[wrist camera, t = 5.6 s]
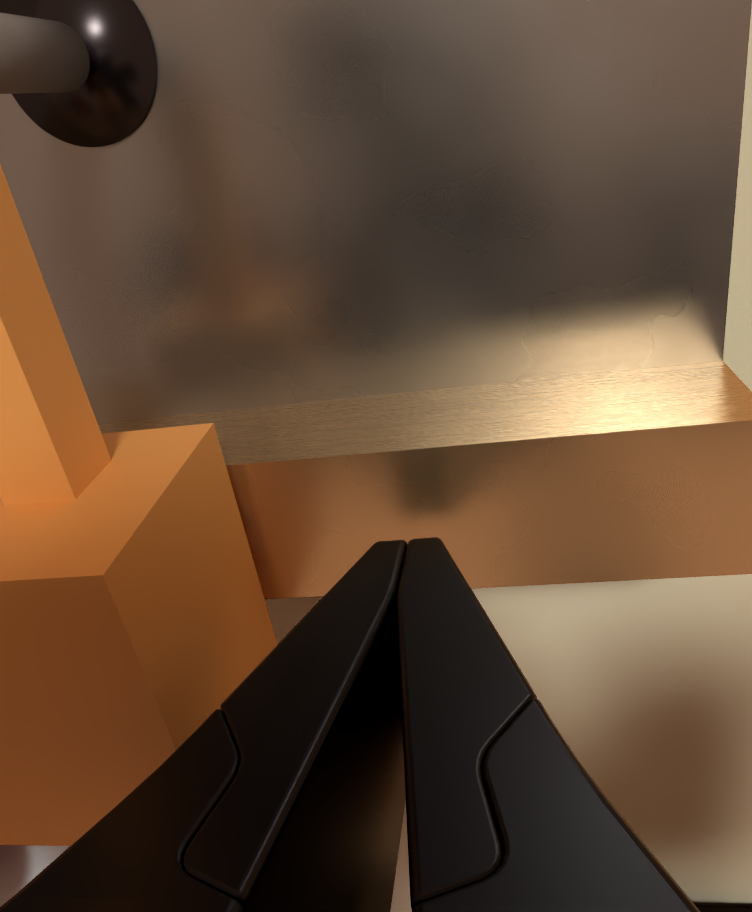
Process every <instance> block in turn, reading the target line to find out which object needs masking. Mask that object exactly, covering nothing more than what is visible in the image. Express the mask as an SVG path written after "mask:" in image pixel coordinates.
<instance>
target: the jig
mask: <svg viewBox="0 0 752 912" xmlns="http://www.w3.org/2000/svg"><path fill="white" fill-rule="evenodd" d="M751 3H752V0H0V13H6V14H13V15H20V16H26V17H33V18H40V19H47V20H53V21H59V22H62V23H65V24H67V25H69V26H70V27H71V28H73V29H74V30H75V31H76V32H77V33H78V34H79V36H80V37H81V38H82V40H83V41H84V43H85V45H86V48H87V51H88V54H89V60H90V68H89V74H88V77H87V79H86V81H85V83H84V84H83V85H82V86H81V87H80V88H78V89H77V90H75V91H72V92H55V93H20V94H0V165H1V167H2V170H3V173H4V175H5V178H6V181H7V183H8V186H9V189H10V191H11V194H12V197H13V199H14V202H15V205H16V207H17V210H18V213H19V215H20V218H21V221H22V223H23V226H24V229H25V231H26V234H27V237H28V239H29V242H30V245H31V247H32V250H33V253H34V255H35V258H36V261H37V263H38V266H39V269H40V271H41V274H42V277H43V279H44V282H45V285H46V287H47V290H48V293H49V295H50V298H51V301H52V303H53V306H54V309H55V311H56V314H57V317H58V319H59V322H60V325H61V327H62V330H63V333H64V335H65V338H66V341H67V343H68V346H69V349H70V351H71V354H72V357H73V359H74V362H75V365H76V367H77V370H78V373H79V375H80V378H81V381H82V383H83V386H84V389H85V391H86V394H87V397H88V399H89V402H90V405H91V407H92V410H93V413H94V415H95V418H96V421H97V423H98V426H99V429H100V431H101V434H105V433H115V432H125V431H136V430H146V429H156V428H166V427H177V426H187V425H197V424H207V423H214V426H215V430H216V433H217V437H218V440H219V444H220V447H221V450H222V454H223V457H224V461H225V464H226V468H227V471H228V475H229V478H230V482H231V485H232V488H233V492H234V495H235V499H236V502H237V506H238V509H239V513H240V516H241V520H242V523H243V526H244V530H245V533H246V537H247V540H248V544H249V547H250V551H251V554H252V558H253V561H254V564H255V568H256V571H257V575H258V578H259V582H260V585H261V589H262V592H263V596H264V599H276V598H295V597H314V596H325V595H326V593H327V592H328V591H329V590H330V589H331V588H332V587H333V586H334V585H335V584H336V583H337V582H338V581H339V580H340V579H341V578H342V577H343V576H344V575H345V574H346V573H347V571H348V570H349V569H350V568H351V567H352V566H353V565H354V564H355V563H356V562H357V561H358V560H359V559H360V558H361V557H362V556H363V555H364V554H365V553H366V552H367V550H368V549H369V548H370V547H371V546H372V545H373V544H375V543H376V542H379V541H391V540H405V541H406V542H407V543H408V542H409V541H410V540H412V539H419V538H432V537H438V538H440V539H441V540H442V542H443V543H444V545H445V547H446V548H447V550H448V552H449V553H450V555H451V556H452V558H453V560H454V561H455V563H456V565H457V566H458V568H459V570H460V571H461V573H462V575H463V576H464V578H465V579H466V581H467V583H468V584H469V586H470V588H488V587H507V586H526V585H546V584H565V583H584V582H604V581H623V580H642V579H661V578H681V577H700V576H719V575H738V574H752V392H751V391H750V390H749V389H748V387H747V386H746V385H745V384H744V383H743V382H742V381H741V380H740V379H739V378H738V377H737V376H736V375H735V373H734V372H733V371H732V370H731V369H730V368H729V367H728V366H727V365H726V364H725V363H724V362H723V350H724V337H725V325H726V313H727V300H728V288H729V275H730V263H731V251H732V238H733V226H734V214H735V201H736V189H737V176H738V164H739V152H740V139H741V127H742V115H743V102H744V90H745V78H746V65H747V53H748V40H749V28H750V16H751Z"/></svg>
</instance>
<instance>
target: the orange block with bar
mask: <svg viewBox="0 0 752 912" xmlns="http://www.w3.org/2000/svg"><path fill="white" fill-rule="evenodd" d="M89 68H90V60H89V54H88V51H87V48H86V45H85V43H84V41H83V40H82V38H81V37H80V36H79V34H78V33H77V32H76V31H75V30H74V29H73V28H71V27H70V26H69V25H67V24H65V23H62V22H59V21H53V20H47V19H40V18H33V17H26V16H20V15H13V14H6V13H0V94H20V93H55V92H72V91H75V90H77V89H78V88H80V87H81V86H82V85H83V84H84V83H85V81H86V79H87V77H88V74H89ZM277 645H278V644H277V640H276V637H275V634H274V630H273V627H272V623H271V620H270V616H269V613H268V609H267V606H266V602H265V599H264V596H263V592H262V589H261V585H260V582H259V578H258V575H257V571H256V568H255V564H254V561H253V558H252V554H251V551H250V547H249V544H248V540H247V537H246V533H245V530H244V526H243V523H242V520H241V516H240V513H239V509H238V506H237V502H236V499H235V495H234V492H233V488H232V485H231V482H230V478H229V475H228V471H227V468H226V464H225V461H224V457H223V454H222V450H221V447H220V444H219V440H218V437H217V433H216V430H215V426H214V423H207V424H197V425H187V426H177V427H166V428H156V429H146V430H136V431H125V432H115V433H105V434H101V431H100V429H99V426H98V423H97V421H96V418H95V415H94V413H93V410H92V407H91V405H90V402H89V399H88V397H87V394H86V391H85V389H84V386H83V383H82V381H81V378H80V375H79V373H78V370H77V367H76V365H75V362H74V359H73V357H72V354H71V351H70V349H69V346H68V343H67V341H66V338H65V335H64V333H63V330H62V327H61V325H60V322H59V319H58V317H57V314H56V311H55V309H54V306H53V303H52V301H51V298H50V295H49V293H48V290H47V287H46V285H45V282H44V279H43V277H42V274H41V271H40V269H39V266H38V263H37V261H36V258H35V255H34V253H33V250H32V247H31V245H30V242H29V239H28V237H27V234H26V231H25V229H24V226H23V223H22V221H21V218H20V215H19V213H18V210H17V207H16V205H15V202H14V199H13V197H12V194H11V191H10V189H9V186H8V183H7V181H6V178H5V175H4V173H3V170H2V167H1V165H0V845H51V846H71V845H72V844H74V843H75V842H76V841H77V840H78V839H79V838H80V837H82V836H83V835H84V834H85V833H86V832H87V831H88V830H89V829H91V828H92V827H93V826H94V825H95V824H96V823H97V822H99V821H100V820H101V819H102V818H103V817H104V816H105V815H107V814H108V813H109V812H110V811H111V810H112V809H113V808H114V807H116V806H117V805H118V804H119V803H120V802H121V801H122V800H123V799H124V798H126V797H127V796H128V795H129V794H130V793H131V792H132V791H133V790H134V789H135V788H137V787H138V786H139V785H140V784H141V783H142V782H143V781H144V780H145V779H146V778H147V777H149V776H150V775H151V774H152V773H153V772H154V771H155V770H156V769H157V768H158V767H159V766H161V765H162V764H163V763H164V762H165V761H166V760H167V759H168V758H169V757H170V756H171V755H172V754H173V753H174V752H175V751H176V750H177V749H178V748H179V747H180V746H181V745H182V744H183V743H184V742H185V741H186V740H187V739H188V738H189V737H190V736H191V735H192V734H193V733H194V732H195V731H196V729H197V728H198V727H199V726H200V725H201V724H202V723H203V722H204V721H205V720H206V719H207V718H208V717H209V716H210V715H211V714H212V713H213V712H214V711H215V710H216V709H220V710H221V708H220V706H221V704H222V703H223V702H224V700H225V699H226V698H227V697H228V696H229V695H230V694H231V693H232V692H233V691H234V690H235V689H236V688H237V687H238V686H239V685H240V684H241V683H242V682H243V681H244V680H245V678H246V677H247V676H248V675H249V674H250V673H251V672H252V671H253V670H254V669H255V668H256V667H257V666H258V665H259V664H260V663H261V662H262V661H263V660H264V659H265V657H266V656H267V655H268V654H269V653H270V652H271V651H272V650H273V649H274V648H275V647H276V646H277Z"/></svg>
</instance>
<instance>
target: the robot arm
mask: <svg viewBox="0 0 752 912" xmlns="http://www.w3.org/2000/svg"><path fill="white" fill-rule="evenodd" d="M220 708H221V710H220V709H216V710H215V711H214V712H213V713H212V714H211V715H210V716H209V717H208V718H207V719H206V720H205V721H204V722H203V723H202V724H201V725H200V726H199V727H198V728H197V729H196V731H195V732H194V733H193V734H192V735H191V736H190V737H189V738H188V739H187V740H186V741H185V742H184V743H183V744H182V745H181V746H180V747H179V748H178V749H177V750H176V751H175V752H174V753H173V754H172V755H171V756H170V757H169V758H168V759H167V760H166V761H165V762H164V763H163V764H162V765H161V766H159V767H158V768H157V769H156V770H155V771H154V772H153V773H152V774H151V775H150V776H149V777H147V778H146V779H145V780H144V781H143V782H142V783H141V784H140V785H139V786H138V787H137V788H135V789H134V790H133V791H132V792H131V793H130V794H129V795H128V796H127V797H126V798H124V799H123V800H122V801H121V802H120V803H119V804H118V805H117V806H116V807H114V808H113V809H112V810H111V811H110V812H109V813H108V814H107V815H105V816H104V817H103V818H102V819H101V820H100V821H99V822H97V823H96V824H95V825H94V826H93V827H92V828H91V829H89V830H88V831H87V832H86V833H85V834H84V835H83V836H82V837H80V838H79V839H78V840H77V841H76V842H75V843H74V844H72V845H71V846H70V847H69V848H68V849H67V850H66V851H65V852H63V853H62V854H61V855H60V856H59V857H58V858H57V859H55V860H54V861H53V862H52V863H51V864H50V865H49V866H47V867H46V868H45V869H44V870H43V871H42V872H41V873H40V874H38V875H37V876H36V877H35V878H34V879H33V880H32V881H30V882H29V883H28V884H27V885H26V886H25V887H24V888H22V889H21V890H20V891H19V892H18V893H17V894H16V895H15V896H13V897H12V898H11V899H10V900H8V901H7V902H6V903H5V904H4V905H2V906H1V907H0V912H390V910H391V902H392V895H393V887H394V880H395V873H396V865H397V858H398V851H399V843H400V836H401V829H402V821H403V814H404V806H405V799H406V814H407V835H408V856H409V877H410V898H411V908H412V912H752V909H745V908H702V907H696V906H695V905H694V904H693V902H692V901H691V900H690V899H689V897H688V896H687V895H686V894H685V893H684V891H683V890H682V889H681V888H680V886H679V885H678V884H677V883H676V882H675V880H674V879H673V878H672V877H671V876H670V874H669V873H668V872H667V871H666V869H665V868H664V867H663V866H662V865H661V863H660V862H659V861H658V860H657V859H656V857H655V856H654V855H653V854H652V852H651V851H650V850H649V849H648V848H647V846H646V845H645V844H644V843H643V842H642V840H641V839H640V838H639V837H638V835H637V834H636V833H635V832H634V831H633V829H632V828H631V827H630V826H629V824H628V823H627V822H626V821H625V820H624V818H623V817H622V816H621V815H620V814H619V812H618V811H617V810H616V809H615V807H614V806H613V805H612V804H611V803H610V801H609V800H608V799H607V797H606V796H605V795H604V794H603V792H602V791H601V790H600V788H599V787H598V786H597V784H596V783H595V782H594V781H593V779H592V778H591V777H590V775H589V774H588V773H587V771H586V770H585V769H584V768H583V766H582V765H581V764H580V762H579V761H578V760H577V758H576V757H575V755H574V754H573V752H572V751H571V749H570V748H569V746H568V745H567V743H566V742H565V740H564V739H563V737H562V736H561V734H560V733H559V731H558V730H557V728H556V727H555V725H554V723H553V722H552V720H551V718H550V717H549V715H548V714H547V712H546V710H545V709H544V707H543V705H542V704H541V702H540V701H539V700H537V697H536V695H535V693H534V691H533V690H532V688H531V686H530V685H529V683H528V681H527V680H526V678H525V676H524V675H523V673H522V672H521V670H520V668H519V667H518V665H517V663H516V662H515V660H514V658H513V657H512V655H511V653H510V652H509V650H508V649H507V647H506V645H505V644H504V642H503V640H502V639H501V637H500V635H499V634H498V632H497V630H496V629H495V627H494V626H493V624H492V622H491V621H490V619H489V617H488V616H487V614H486V612H485V611H484V609H483V607H482V606H481V604H480V602H479V601H478V599H477V598H476V596H475V594H474V593H473V591H472V589H471V588H470V586H469V584H468V583H467V581H466V579H465V578H464V576H463V575H462V573H461V571H460V570H459V568H458V566H457V565H456V563H455V561H454V560H453V558H452V556H451V555H450V553H449V552H448V550H447V548H446V547H445V545H444V543H443V542H442V540H441V539H440V538H438V537H432V538H419V539H412V540H410V541H409V542H408V543H407V542H406V541H405V540H391V541H379V542H376V543H375V544H373V545H372V546H371V547H370V548H369V549H368V550H367V552H366V553H365V554H364V555H363V556H362V557H361V558H360V559H359V560H358V561H357V562H356V563H355V564H354V565H353V566H352V567H351V568H350V569H349V570H348V571H347V573H346V574H345V575H344V576H343V577H342V578H341V579H340V580H339V581H338V582H337V583H336V584H335V585H334V586H333V587H332V588H331V589H330V590H329V591H328V592H327V593H326V595H325V596H324V597H323V598H322V599H321V600H320V601H319V602H318V603H317V604H316V605H315V606H314V607H313V608H312V609H311V610H310V611H309V612H308V613H307V614H306V616H305V617H304V618H303V619H302V620H301V621H300V622H299V623H298V624H297V625H296V626H295V627H294V628H293V629H292V630H291V631H290V632H289V633H288V634H287V635H286V637H285V638H284V639H283V640H282V641H281V642H280V643H279V644H278V645H277V646H276V647H275V648H274V649H273V650H272V651H271V652H270V653H269V654H268V655H267V656H266V657H265V659H264V660H263V661H262V662H261V663H260V664H259V665H258V666H257V667H256V668H255V669H254V670H253V671H252V672H251V673H250V674H249V675H248V676H247V677H246V678H245V680H244V681H243V682H242V683H241V684H240V685H239V686H238V687H237V688H236V689H235V690H234V691H233V692H232V693H231V694H230V695H229V696H228V697H227V698H226V699H225V700H224V702H223V703H222V704H221V706H220Z"/></svg>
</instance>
